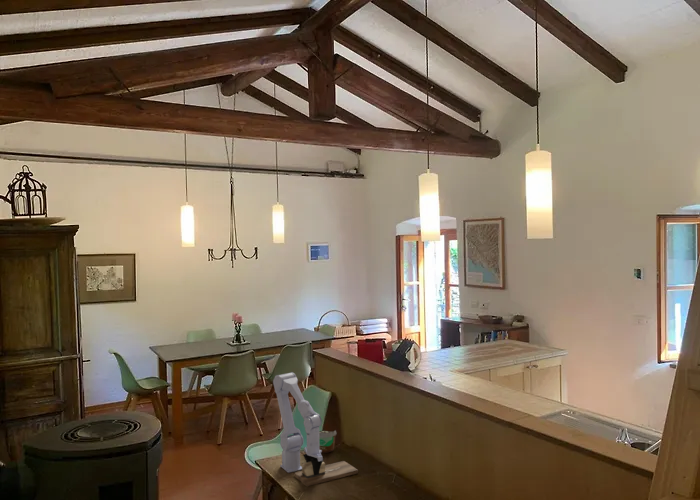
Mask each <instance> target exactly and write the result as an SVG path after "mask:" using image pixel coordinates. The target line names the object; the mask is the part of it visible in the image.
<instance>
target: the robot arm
mask: <svg viewBox="0 0 700 500" xmlns="http://www.w3.org/2000/svg"><path fill="white" fill-rule="evenodd" d="M298 383H299V380H298V377H297V375H296V373H294V372H293V371H291V372H287V373H282V374H276V375H275V376H274V378H273V380H272V384H273V387H274V392H275V394H276V399H277V404H278V408H279V412H280V416H281V422H282V426H283V431H281V433H280V435H279V436H280V442H279V443H280V448H281V449H282V451H281V464H280V468H282V469H283V470H284V471H285V472H286V473H288V474H289V473H295V472H299V471H302V465H301V449H302V446H304V440H305V439H304V437H303V435H302V432H301V430H300V429H299V428H298V427H296V425H295V420H294V415H293V411H292V406H291V402H290V398H289V393H290V394H291V396H292V397H293V398H294V400H295V402H296V403H297V407H296V408H297V410H298V412H299V413H300V415H301V417H302V419H303V420H304V421H303V426H304V429H305V433H306V446H305V447H304V448H303V449H304V450H303V451H304V452H305V453H304V454H303V458H304V460H305V463H306V462H311V463H312V466H313V473H314V475H318V474H319V471H320V467H321V464H322V462H324V458H323V455H322V450H320V449H319V431H320V427H321V426H322V424H323V421H322V417H321V414H319V413H318V412H316V411H315V410H314V408H313V407H312V405H311V404H310V401H309V400H306V399H305V398H304V396H303V393H302V391H301V389H300V386H299V385H298Z"/></svg>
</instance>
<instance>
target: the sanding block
mask: <svg viewBox="0 0 700 500" xmlns="http://www.w3.org/2000/svg"><path fill="white" fill-rule="evenodd" d="M325 465H326V463H325V462H324V461H323V462H322V464H321V467H320V471H319V474H318V475H314V473H313V466H312V463H311V462H306V461H305V462H303V463H301V467H302V470H301V471H302V475H303V476H304V477H306V478H311V477H315V476H319V475H323V474H325Z"/></svg>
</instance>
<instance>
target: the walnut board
mask: <svg viewBox="0 0 700 500" xmlns="http://www.w3.org/2000/svg"><path fill="white" fill-rule="evenodd" d="M293 474H294V475H293V477H294V478H296V479H297V480H298V481H299V482H301V483H302V484H304V486H306V487H310V486H312V485H313V486H314V485H318V484H321V483H325V482H328V481H329V482H330V481H332V480H337V479H340V478H344V477H348V476H352V475H353V476H354V475H356V474H359V469H357V468H356V467H354V466H353V465H351V464H350V463H348V462H346V461H345V460H342V461H337V462H333V463H330V464H325V474H323V475H319V476H315V477H311V478H306V477H304V476H303V475H302V470H299V471H294V472H293Z"/></svg>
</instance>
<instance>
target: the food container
mask: <svg viewBox="0 0 700 500" xmlns="http://www.w3.org/2000/svg"><path fill="white" fill-rule="evenodd" d="M337 433H338V432H337V430H336V429H335V430H334V431H328V430H319V449H320V450H322V452H321V454H322V453H323V454H325V453H326V454H327V453H331V452H334V450H335V443H336V436H337Z"/></svg>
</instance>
